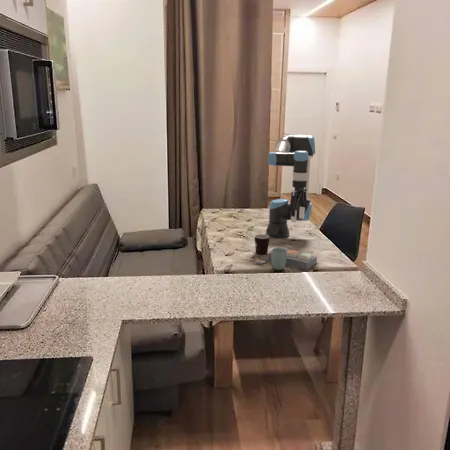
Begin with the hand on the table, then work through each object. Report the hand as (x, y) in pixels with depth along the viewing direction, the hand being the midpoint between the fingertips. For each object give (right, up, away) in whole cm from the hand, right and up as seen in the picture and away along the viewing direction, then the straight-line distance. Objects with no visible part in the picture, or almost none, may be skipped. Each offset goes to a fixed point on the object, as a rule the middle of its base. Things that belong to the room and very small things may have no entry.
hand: (297, 220), depth 248 cm
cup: (-12, -26, -15) cm, 32 cm away
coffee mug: (-19, -19, +10) cm, 28 cm away
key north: (+2, -22, -10) cm, 24 cm away
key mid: (-4, -21, -6) cm, 22 cm away
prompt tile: (-21, -23, -7) cm, 32 cm away
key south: (-10, -20, -2) cm, 22 cm away
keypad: (-4, -23, -6) cm, 24 cm away
